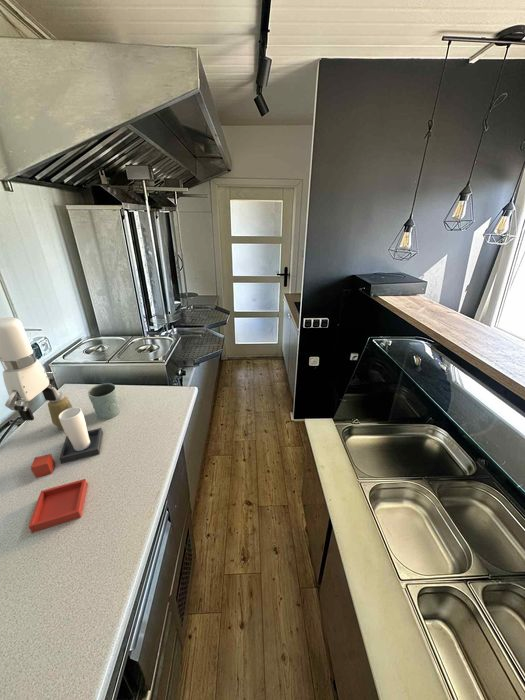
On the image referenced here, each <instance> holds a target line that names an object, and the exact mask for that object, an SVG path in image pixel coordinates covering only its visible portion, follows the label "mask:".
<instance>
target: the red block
mask: <svg viewBox="0 0 525 700" xmlns="http://www.w3.org/2000/svg"><path fill="white" fill-rule="evenodd" d="M55 465H56V462H55V459H54V457H53V456H52V453H48V454H44V455H40V456H35V457H34V459H33V460H32V463H31V466H30V470H31V471H32V474H33V475H34V478H35V479H37V478H40V477H44V476H47V475H48V476H49V475H51V474H53V471H54V468H55Z"/></svg>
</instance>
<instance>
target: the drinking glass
mask: <svg viewBox="0 0 525 700" xmlns="http://www.w3.org/2000/svg"><path fill="white" fill-rule="evenodd" d="M72 407H73V406H72ZM59 420H60V423H61V425H62V428H63V429H64V430H63V432H64V433H65V435H66V436H67V437H68V438H69V440H70V442H71V444H72V446H73V448H74V450H76V451H82V450H85V449H86V448H88V447H89V446H90V443H91V442H90V439H89V435H88V431H89V430H88V428H87V422H86V418H85V415H84V413H83V410H82V409H81V407H77V406H75V407H73V408H69V409H66V410H64V411H63V412H61V413H60V414H59Z"/></svg>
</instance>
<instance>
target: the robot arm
mask: <svg viewBox="0 0 525 700" xmlns="http://www.w3.org/2000/svg"><path fill="white" fill-rule="evenodd" d="M32 347H33V346H32V345H31V343H30V340H29V337H28V335H27V332H26V330H25V327H24V325H23V322H22V321H21V320H20V319H19V318H17V317H12V316H9V317H8V316H7V317H6V316H5V317H1V318H0V363H1V366H2V368H3V369H4V370H3V371H2V376H3V377H2V378H3V382H4V383H3V384H4V385H5V389H6V391H7V394H8V399H7V400H6V401H5V403H4V406H5V408H8V409H9V410H11V411H15V412H18V414H19V416H20V418H21V420H22V421H34V420H35V416H34V415H33V412H32V409H31V408H29V403H30V401H32V400H33V399H34V398H35V397H37V396H38V395H39V394H40V393H42V395H43V398H44V400H45V401H47V402H49V401H55V400H56V397H55V394H54V392H53V387H54V385H53V384H54V379H53V378H54V373H53V372H52V371H49V372H46V370H45V368H44V367H43V365H42V364H41V362H40V361H39V359H38V358H37V357H36V355H35V350H34V349H33V348H32Z"/></svg>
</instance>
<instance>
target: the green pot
mask: <svg viewBox="0 0 525 700" xmlns="http://www.w3.org/2000/svg"><path fill="white" fill-rule="evenodd" d="M87 395H88V398H89V400H90V402H91V404H92V407H93V409H94V412H95V416H96V417H97V419H99V420H101V421H106V420H111V419H113V418H115V417H116V416H118V415H119V413H120V404H119V400H118V393H117V386H116V385H115V384H113V383H111V382H104V383H100V384H96V385H94V386H93V387H91V388H90V389H89V390H88V391H87Z"/></svg>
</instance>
